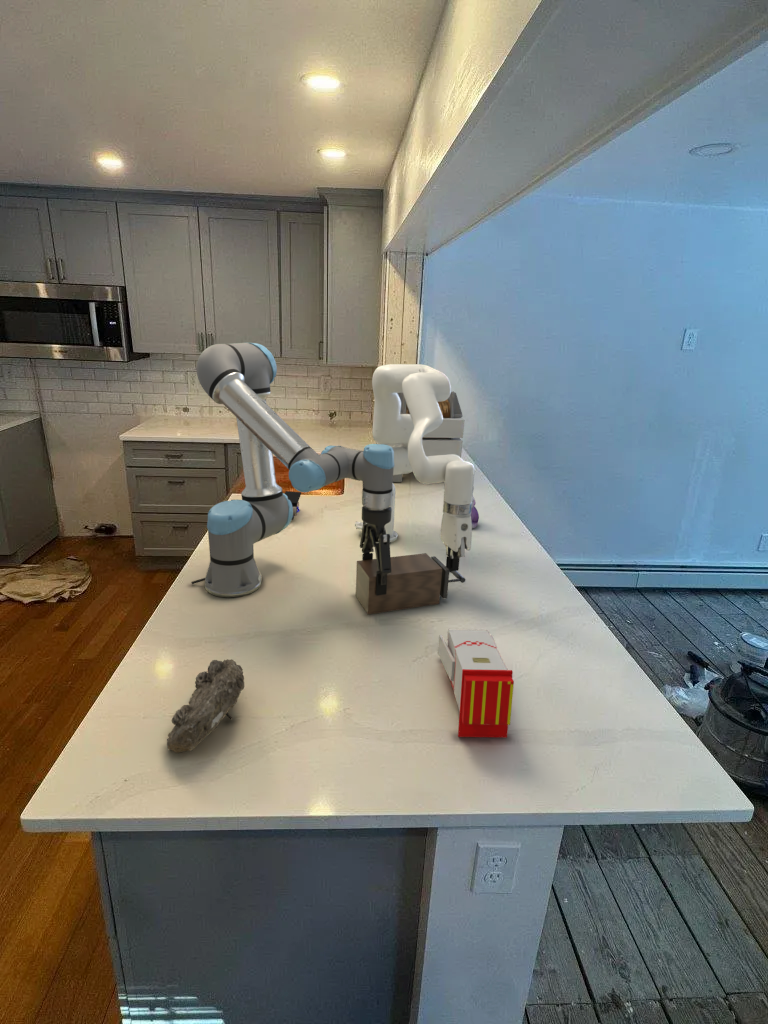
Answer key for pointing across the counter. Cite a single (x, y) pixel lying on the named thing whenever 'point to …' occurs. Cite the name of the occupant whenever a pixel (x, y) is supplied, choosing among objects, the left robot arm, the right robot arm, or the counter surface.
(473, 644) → the toy
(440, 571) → the cabinet
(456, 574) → the drawer
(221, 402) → the left robot arm
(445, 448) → the transformer
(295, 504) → the figurine character
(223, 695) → the fossil
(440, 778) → the counter surface
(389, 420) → the right robot arm
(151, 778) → the counter surface
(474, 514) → the figurine
